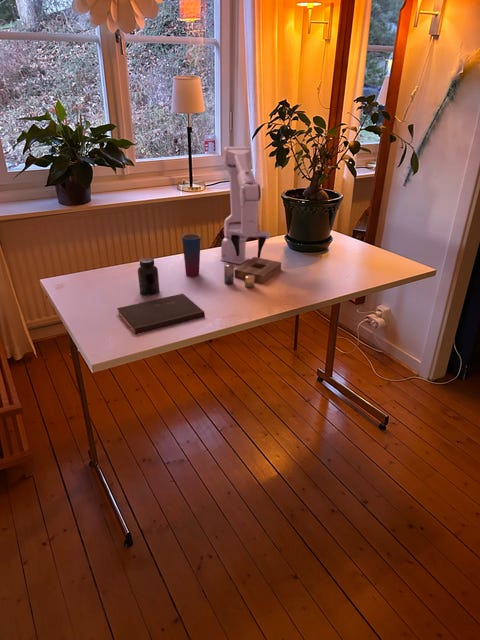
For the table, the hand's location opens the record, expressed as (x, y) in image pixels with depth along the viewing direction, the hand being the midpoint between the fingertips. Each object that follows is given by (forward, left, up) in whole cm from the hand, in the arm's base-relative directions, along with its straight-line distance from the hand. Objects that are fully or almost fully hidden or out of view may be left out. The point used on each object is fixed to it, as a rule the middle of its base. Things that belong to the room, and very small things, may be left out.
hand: (248, 256), depth 170 cm
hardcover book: (-11, -38, -10) cm, 41 cm away
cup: (-21, -5, -10) cm, 24 cm away
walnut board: (0, +8, -10) cm, 13 cm away
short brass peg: (+3, -4, -10) cm, 11 cm away
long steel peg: (-5, -5, -10) cm, 12 cm away
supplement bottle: (-25, -27, -10) cm, 38 cm away
